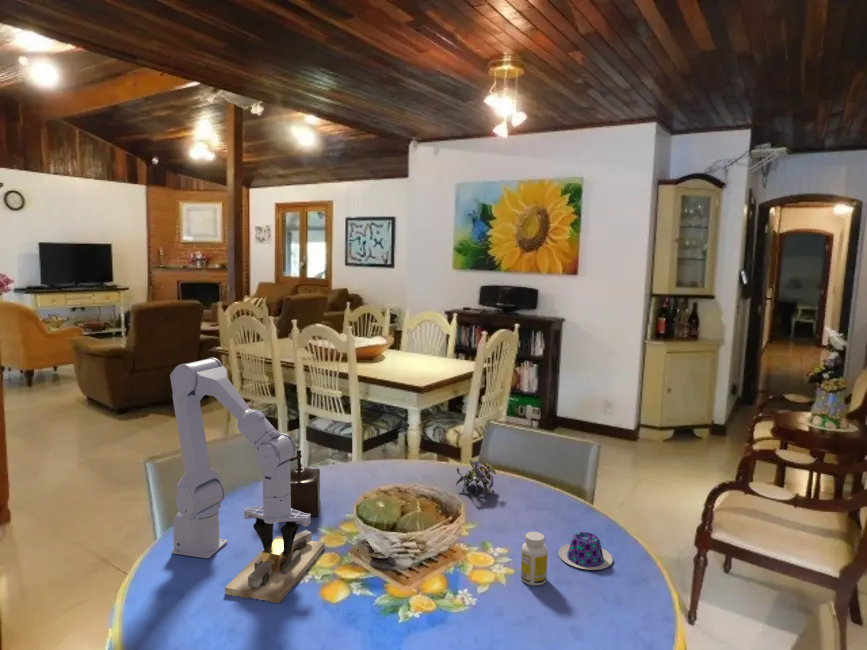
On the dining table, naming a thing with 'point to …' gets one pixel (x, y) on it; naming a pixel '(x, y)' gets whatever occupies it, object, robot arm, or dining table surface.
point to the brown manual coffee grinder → (305, 488)
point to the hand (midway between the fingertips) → (278, 552)
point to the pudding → (585, 552)
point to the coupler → (276, 555)
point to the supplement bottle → (534, 559)
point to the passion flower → (479, 476)
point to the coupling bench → (276, 585)
